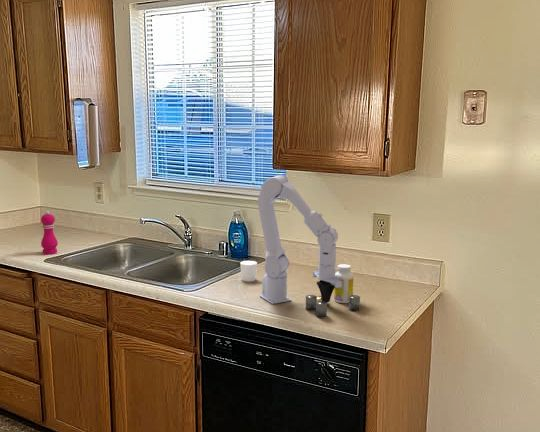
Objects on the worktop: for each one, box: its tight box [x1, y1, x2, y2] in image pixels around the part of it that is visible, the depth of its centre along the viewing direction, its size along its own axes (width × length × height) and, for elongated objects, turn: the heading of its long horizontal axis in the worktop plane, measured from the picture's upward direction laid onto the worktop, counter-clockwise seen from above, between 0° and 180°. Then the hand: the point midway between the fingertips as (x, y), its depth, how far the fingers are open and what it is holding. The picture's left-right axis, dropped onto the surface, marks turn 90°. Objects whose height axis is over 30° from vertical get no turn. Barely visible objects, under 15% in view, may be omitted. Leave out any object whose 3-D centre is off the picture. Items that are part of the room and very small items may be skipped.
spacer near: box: [305, 294, 318, 312], centre depth 186 cm, size 4×4×4 cm
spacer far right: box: [315, 301, 328, 319], centre depth 180 cm, size 4×4×4 cm
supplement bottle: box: [333, 263, 354, 304], centre depth 194 cm, size 7×7×13 cm
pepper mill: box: [40, 210, 59, 256], centre depth 255 cm, size 7×7×20 cm
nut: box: [316, 295, 322, 302], centre depth 193 cm, size 4×4×2 cm
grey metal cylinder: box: [348, 294, 361, 312], centre depth 187 cm, size 4×4×4 cm
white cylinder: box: [239, 260, 258, 283], centre depth 219 cm, size 7×7×7 cm
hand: (326, 301), depth 190 cm, fingers closed
